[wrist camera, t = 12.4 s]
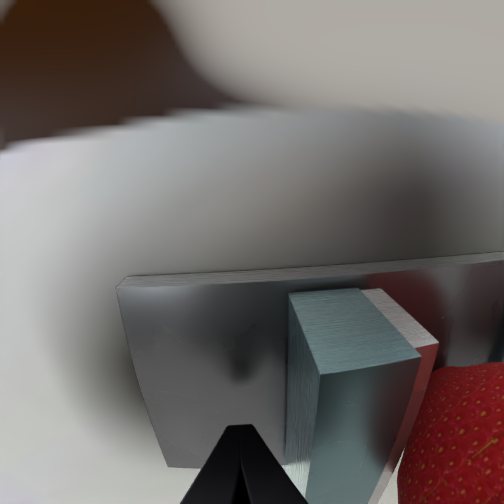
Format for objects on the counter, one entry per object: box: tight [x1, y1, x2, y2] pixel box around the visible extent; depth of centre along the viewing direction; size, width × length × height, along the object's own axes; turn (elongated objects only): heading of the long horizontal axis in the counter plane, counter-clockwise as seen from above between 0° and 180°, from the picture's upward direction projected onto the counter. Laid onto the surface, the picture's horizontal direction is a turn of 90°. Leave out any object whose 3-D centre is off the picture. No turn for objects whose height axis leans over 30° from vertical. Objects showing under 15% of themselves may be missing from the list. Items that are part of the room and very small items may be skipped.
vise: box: [116, 251, 504, 469], centre depth 8 cm, size 16×8×5 cm, turn 93°
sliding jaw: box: [285, 287, 439, 504], centre depth 7 cm, size 2×8×4 cm, turn 3°
